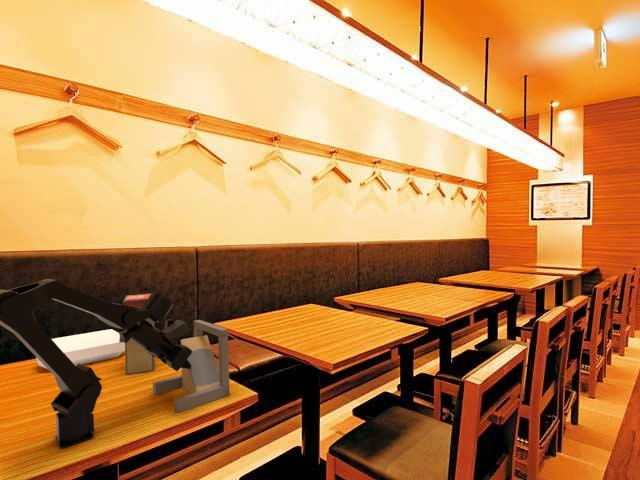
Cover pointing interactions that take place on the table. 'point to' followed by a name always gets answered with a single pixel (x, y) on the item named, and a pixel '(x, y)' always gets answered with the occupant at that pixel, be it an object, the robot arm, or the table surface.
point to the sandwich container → (199, 366)
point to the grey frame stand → (209, 393)
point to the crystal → (90, 347)
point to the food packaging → (134, 353)
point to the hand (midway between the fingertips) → (190, 367)
